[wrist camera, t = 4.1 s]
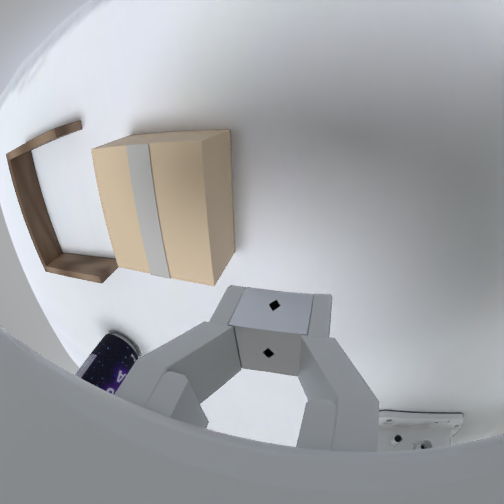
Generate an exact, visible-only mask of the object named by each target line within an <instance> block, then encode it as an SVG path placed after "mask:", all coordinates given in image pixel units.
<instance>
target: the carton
mask: <svg viewBox="0 0 504 504" xmlns="http://www.w3.org/2000/svg"><path fill="white" fill-rule="evenodd" d="M91 151H92V158H93V164H94V169H95V175H96V180H97V185H98V190H99V195H100V200H101V204H102V208H103V213H104V217H105V221H106V225H107V229H108V233H109V236H110V240H111V244H112V247H113V251H114V254H115V258H116V261H117V264H118V267H122V268H126V269H131V270H136V271H140V272H145V273H150V274H151V275H155V276H159V277H164V278H169V279H170V278H174V279H179V280H184V281H189V282H195V283H200V284H205V285H211V286H215V284H216V282H217V281H218V279H219V277H220V276H221V274H222V272H223V271H224V269H225V267H226V266H227V264H228V262H229V261H230V259H231V258H232V256H233V254H234V253H235V241H234V219H233V196H232V170H231V140H230V130H192V131H174V132H160V133H148V134H138V135H130V136H127V137H124V138H121V139H118V140H115V141H112V142H110V143H107V144H104V145H101V146H99V147H96V148H94V149H91Z"/></svg>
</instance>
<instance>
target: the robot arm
mask: <svg viewBox="0 0 504 504" xmlns="http://www.w3.org/2000/svg"><path fill="white" fill-rule="evenodd" d="M331 309H332V295H330V294H307V293H295V292H283V291H275V290H266V289H258V288H250V287H247V288H246V287H240V286H233V285H231V286H229V287H228V288H227V290H226V291H225V293H224V295H223V297H222V299H221V301H220V303H219V305H218V306H217V308H216V310H215V312H214V314H213V316H212V318H211V320H210V321H209V322H203V323H201V324H199V325H198V326H196V327H194V328H192V329H191V330H189V331H187V332H185V333H184V334H182V335H180V336H178V337H177V338H175V339H173V340H171V341H169V342H168V343H166V344H164V345H162V346H161V347H159V348H157V349H155V350H153V351H152V352H150V353H148V354H146V355H144V356H142V357H141V358H139V359H137V360H136V362H135V363H134V365H133V367H132V368H131V370H130V371H129V373H128V374H127V376H126V377H125V379H124V380H123V382H122V383H121V385H120V387H119V388H118V390H117V391H116V393H115V394H114V395H113V394H111V393H109V392H107V391H105V390H103V389H101V388H99V387H97V386H95V385H93V384H91V383H89V382H87V381H85V380H83V379H81V378H79V377H77V376H76V375H74V374H72V373H70V372H68V371H67V370H65V369H63V368H61V367H60V366H58V365H56V364H55V363H53V362H51V361H50V360H48V359H46V358H45V357H43V356H42V355H40V354H39V353H37V352H36V351H34V350H33V349H31V348H30V347H29V346H27V345H25V344H24V343H23V342H21V341H20V340H19V339H17V338H16V337H14V336H13V335H12V334H10V333H9V332H8V331H6V330H5V329H4V328H3V327H1V326H0V504H504V434H501V435H497V436H494V437H490V438H486V439H481V440H477V441H472V442H467V443H462V444H456V445H450V441H451V437H452V436H453V435H454V434H455V433H456V432H457V431H458V430H459V429H460V428H461V426H462V424H463V414H429V413H407V412H393V411H380V412H379V401H378V399H377V398H376V396H375V395H374V393H373V392H372V391H371V389H370V388H369V386H368V385H367V383H366V382H365V380H364V379H363V378H362V376H361V375H360V373H359V372H358V370H357V369H356V368H355V366H354V365H353V363H352V362H351V360H350V359H349V358H348V356H347V355H346V353H345V352H344V351H343V349H342V348H341V346H340V345H339V343H338V342H337V341H336V339H335V338H329V334H330V322H331ZM241 368H245V369H251V370H259V371H266V372H273V373H279V374H285V375H292V376H298V378H299V380H300V383H301V385H302V387H303V390H304V392H305V394H306V396H307V399H308V402H307V403H306V406H305V411H304V415H303V420H302V424H301V429H300V433H299V437H298V441H297V446H296V447H292V446H285V445H278V444H272V443H266V442H261V441H256V440H251V439H246V438H241V437H237V436H232V435H228V434H224V433H220V432H216V431H213V430H209V429H206V428H207V425H208V423H209V422H208V420H207V418H206V416H205V414H204V412H203V410H202V408H201V406H200V403H202V402H203V401H204V400H205V399H207V398H208V397H209V396H210V395H212V394H213V393H214V392H215V391H216V390H218V389H219V388H220V387H221V386H223V385H224V384H225V383H226V382H227V381H229V380H230V379H231V378H232V377H233V376H234V375H236V374H237V373H238V372H239V371H240V370H241Z"/></svg>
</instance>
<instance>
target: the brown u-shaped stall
mask: <svg viewBox="0 0 504 504" xmlns="http://www.w3.org/2000/svg"><path fill="white" fill-rule="evenodd" d="M81 129H82V127H81V121H77V122H74V123H71V124H67V125H64V126H61V127H58V128H55V129H52V130H50V131H48V132H46V133H44V134H42V135H40V136H38V137H36V138H34V139H32V140H30V141H29V142H27V143H25V144H23V145H21V146H19V147H18V148H16V149H14V150H12V151H11V152H9V153H7V154H6V157H7V161H8V165H9V170H10V174H11V177H12V181H13V185H14V188H15V192H16V195H17V198H18V202H19V205H20V208H21V211H22V214H23V217H24V220H25V222H26V225H27V228H28V231H29V233H30V236H31V238H32V241H33V243H34V246H35V248H36V251H37V253H38V255H39V258H40V260H41V262H42V264H43V267H44V269H45V271H46V272H50V273H55V274H59V275H64V276H68V277H73V278H78V279H82V280H87V281H92V282H97V283H103V282H104V281H105V280H106V279H107V278H108V277H109V276H110V275H111V274H112V273H113V272H114V271H115V270H116V269H117V268H118V264H117V261H116V259H112V258H103V257H94V256H85V255H76V254H68V253H62V251H61V248H60V246H59V243H58V240H57V238H56V235H55V232H54V230H53V227H52V224H51V221H50V218H49V216H48V213H47V210H46V206H45V203H44V200H43V197H42V193H41V190H40V187H39V183H38V179H37V175H36V172H35V168H34V163H33V159H32V155H31V150H33V149H35V148H37V147H39V146H42V145H44V144H46V143H48V142H51V141H53V140H56V139H58V138H60V137H63V136H65V135H68V134H70V133H73V132H76V131H78V130H81Z"/></svg>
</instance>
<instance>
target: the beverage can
mask: <svg viewBox="0 0 504 504" xmlns="http://www.w3.org/2000/svg"><path fill="white" fill-rule="evenodd" d="M136 352H137V351H136V348H135V346H134V345H133V344H132V343H131V342H130V341H129V340H128V339H127V338H125V337H124V336H122V335H120V334H116V333H115V334H106V335H105V336H104V337H103V339H102V340H101V341H100V343H99V344H98V345H97V346H96V348H95V349H94V350H93V352H92V353H91V354H90V355H89V357H88V358H87V359H86V361H85V362H84V363H83V365H82V366H81V367H80V369H79V370H78V371H77V373H76V374H75V375H76V376H77V377H79V378H81V379H83V380H85V381H87V382H89V383H91V384H93V385H95V386H97V387H99V388H101V389H103V390H105V391H107V392H109V393H111V394H113V395H114V394H115V393H116V391H117V390H118V388H119V387H120V385H121V383H122V382H123V380H124V379H125V377H126V376H127V374H128V373H129V371H130V370H131V368H132V367H133V365H134V363H135V362H136V360H137V359H138V356H137V353H136Z"/></svg>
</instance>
